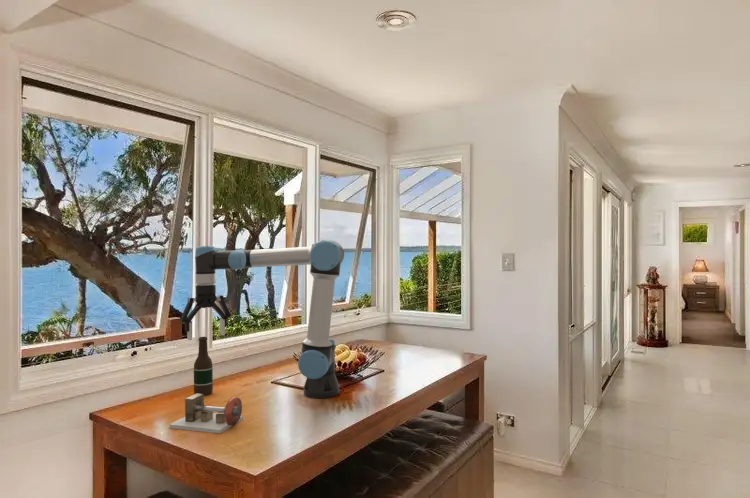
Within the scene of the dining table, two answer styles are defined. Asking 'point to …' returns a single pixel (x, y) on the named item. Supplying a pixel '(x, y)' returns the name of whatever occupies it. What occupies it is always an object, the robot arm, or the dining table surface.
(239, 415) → the disc-ended rod
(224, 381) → the dining table surface
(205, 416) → the eye bracket
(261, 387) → the dining table surface
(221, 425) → the base board
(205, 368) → the beer bottle
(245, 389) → the dining table surface
